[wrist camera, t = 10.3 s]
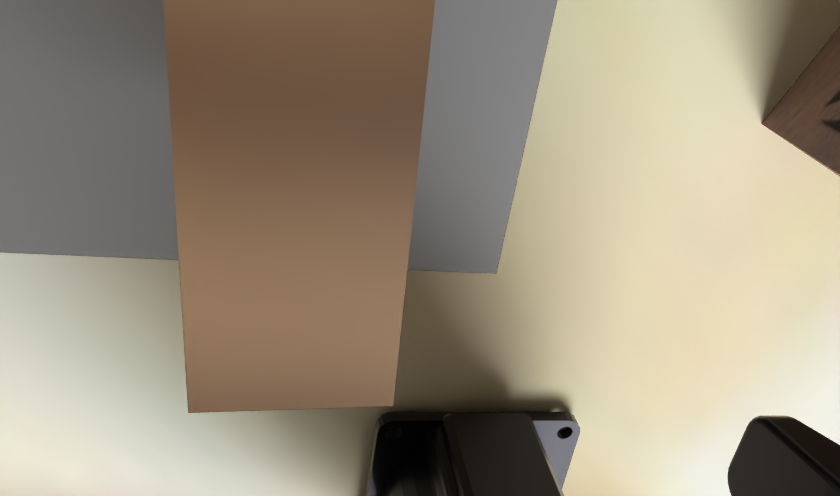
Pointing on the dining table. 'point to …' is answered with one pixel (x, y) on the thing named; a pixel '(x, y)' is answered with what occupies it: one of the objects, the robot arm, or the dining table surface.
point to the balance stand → (152, 143)
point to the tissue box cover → (813, 108)
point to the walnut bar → (294, 195)
